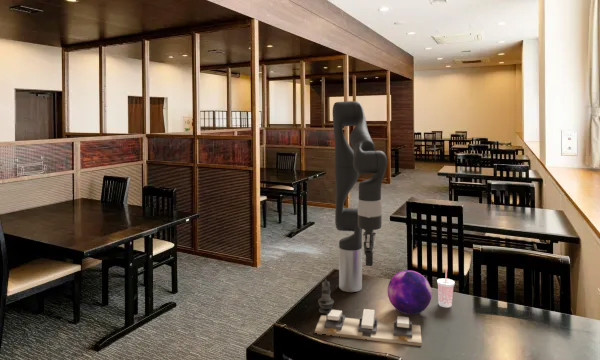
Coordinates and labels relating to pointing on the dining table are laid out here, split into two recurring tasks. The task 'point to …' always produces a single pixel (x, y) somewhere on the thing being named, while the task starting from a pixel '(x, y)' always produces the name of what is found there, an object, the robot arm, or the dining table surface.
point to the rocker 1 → (334, 315)
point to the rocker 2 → (368, 319)
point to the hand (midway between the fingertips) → (369, 265)
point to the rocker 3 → (403, 322)
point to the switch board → (370, 330)
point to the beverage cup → (445, 291)
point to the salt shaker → (325, 298)
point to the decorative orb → (409, 292)
